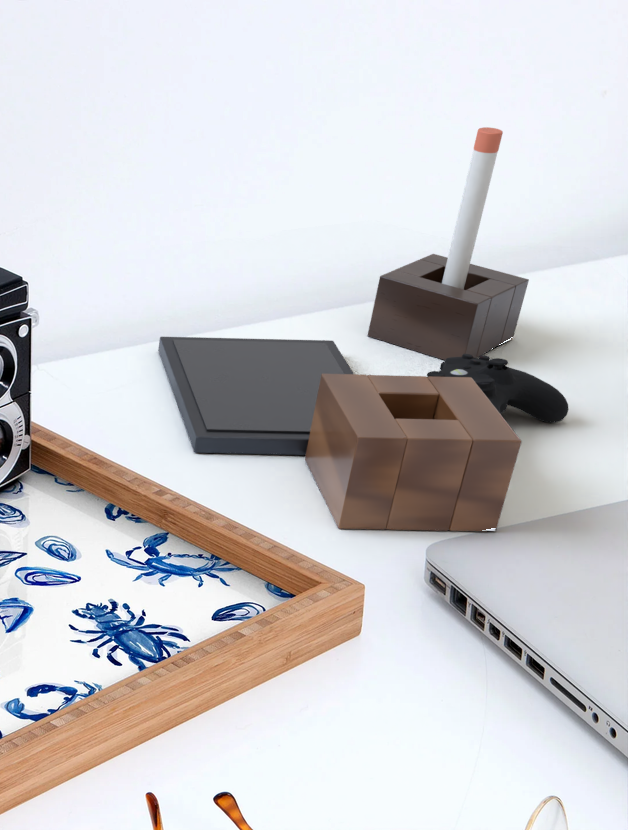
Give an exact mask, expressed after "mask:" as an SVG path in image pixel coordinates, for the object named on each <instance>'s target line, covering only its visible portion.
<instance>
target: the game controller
mask: <svg viewBox="0 0 628 830" xmlns="http://www.w3.org/2000/svg"><path fill="white" fill-rule="evenodd" d="M508 364H509V361H508V360H507V359H504V358H498V357H496V358H495V357H494V358H491V357H490V356H489V355H485V354H483V355H480V356H479V357H477V358H473V356H472V355H470V354H463V355H462V357H449V358H447V359H446V360H443V361H442V362H441V363H440V367H439V370H438V371H437V370H433V371H432V370H431V371H428V372H427V373H426V377H429V376H432V377H471V378H472V379H473V380H474V381H475V383H476V384H477V385H478V386H479V388H480V389H481V390H482V391H483V393H484V394H485V395H486V397H487V398H488V399H489V400H490V402H491V403H492V404H493V405H494V407H495V408H496V409H497V410H498V412H499V413H500V414H501V416H502V417H503V413H504V412H505V411H506V410H507V408H508V406H510V407H512V408H514V409H517V410H519V411H521V412H523V413H525V414H527V415H529V416H530V417H532V418H533V419H536V420H538V421H541V422H544V423H548V424H551V423H554V424H555V423H559V422H561V421H563V420H564V419H565V418H566V416H567V415H568V413H569V403H568V401H567V398H566V397H565V396H564V395H563V394H562V392H561V391H560V390H558V388H556V387H555V386H553V385H551V384H550V383H548V382H546V381H544V380H542V379H540V378H539V377H536V376H535V375H532V374H531V373H528V372H526V371H523V370H519V369H517V368H512V367H509V366H508Z"/></svg>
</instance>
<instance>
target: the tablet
mask: <svg viewBox="0 0 628 830" xmlns="http://www.w3.org/2000/svg"><path fill="white" fill-rule="evenodd" d="M158 341H159V342H158V349H157V350H158V351H157V352H158V354H159V357H160V359H161V363H162V365H163V368H164V371H165V374H166V376H167V380H168V382H169V385H170V387H171V388H170V389H171V391H172V394H173V396H174V399H175V402H176V404H177V408H178V410H179V413H180V416H181V419H182V421H183V424H184V427H185V430H186V433H187V436H188V438H189V442H190V444H191V447H192V450H193V452H194V453H195V454H231V455H232V454H234V455H272V456H273V455H274V456H275V455H277V456H278V455H279V456H281V455H282V456H306V451H307V445H308V440H309V435H310V430H311V425H312V420H313V415H314V410H315V405H316V400H317V395H318V390H319V384H320V379H321V374H355V373H354V372H353V370H352V369H351V367H350V365H349V364H348V362H347V361H346V359H345V357H344V356H343V354H342V352H341V351H340V349H339V348H338V346H337V344H336V343H335V341H334V340H327V339H326V340H325V339H324V340H323V339H321V340H319V339H283V338H281V339H277V338H241V337H239V338H238V337H197V336H196V337H194V336H189V337H188V336H160V337H159V340H158Z"/></svg>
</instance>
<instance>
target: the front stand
mask: <svg viewBox="0 0 628 830" xmlns="http://www.w3.org/2000/svg"><path fill="white" fill-rule="evenodd" d="M501 415H502V413H501V414H500V413H499V412H498V410H497V409H496V408H495V407H494V405H493V404H492V403H491V402H490V400H489V399H488V398H487V397H486V395H485V394H484V393H483V391H482V390H481V389H480V388H479V386H478V385H477V384H476V383H475V381H474V380H473V379H472V378H471V377H432V376H429V377H428V376H427V375H425V376H424V375H391V374H390V375H384V374H376V375H375V374H360V373H359V374H355V373H354V374H321V379H320V384H319V390H318V395H317V400H316V405H315V410H314V415H313V420H312V425H311V430H310V435H309V440H308V445H307V451H306V455H304V461H305V464H306V465H307V467H308V469H309V471H310V474H311V476H312V477H313V479H314V482H315V483H316V485H317V487H318V489H319V491H320V494H321V496H322V497H323V500H324V503H325V504H326V506H327V508H328V510H329V512H330V514H331V516H332V518H333V520H334V522H335V524H336V526H337V528H338V529H340V530H342V529H345V530H346V529H347V530H394V531H395V530H396V531H397V530H398V531H438V532H439V531H440V532H444V531H445V532H447V531H450V532H483V531H482V530H486V529H491V528H498V526H499V521H500V518H501V515H502V511H503V508H504V504H505V501H506V497H507V494H508V490H509V488H510V487H509V486H510V484H511V481H512V477H513V473H514V470H515V467H516V463H517V460H518V455H519V452H520V448H521V446H522V440H521V438H520V437H519V436H518V435H517V434H516V432H515V430H514V429H513V428H512V427H511V425H510V424H509V423H508V422H507V421H506V420H505V418H504V417H503V415H502V416H501Z"/></svg>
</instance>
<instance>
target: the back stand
mask: <svg viewBox="0 0 628 830" xmlns="http://www.w3.org/2000/svg"><path fill="white" fill-rule="evenodd" d="M447 259H448V256H443V255H440V254H436V253H431V254H429V255H427V256H424V257H422V258H420V259H416V260H415V261H413V262H409V263H408V264H405V265H403V266H400V267H398V268H396V269H394V270H391V271H388V272H386V273H384V274H382V275H380V276H379V279H378V284H377V289H376V293H375V299H374V303H373V307H372V311H371V316H370V321H369V326H368V331H367V337H369V338H373V339H376V340H379V341H382V342H386V343H389V344H392V345H394V346H398V347H401V348H405V349H407V350H408V349H409V350H411V351H414V352H417V353H420V354H424V355H427V356H430V357H433V358H437V359H440V360H442V361H445V360H446V359H447V358H449V357H462V355H463V354H470V355H472V356H473V358H479V356H480V355H482V354H483V355H485V354H487V353H489V352H490V351H489V350H491V349H492V348H495V347H496V346H498V345H499V344H501V343H503V342H504V341H506V340H508V339H510V338H511V337H513V336H514V337H515V333H516V329H517V325H518V322H519V318H520V314H521V311H522V307H523V304H524V300H525V296H526V293H527V289H528V285H529V281H530V280H529V279H528V278H525V277H522V276H518V275H514V274H510V273H506V272H503V271H499V270H495V269H492V268H488V267H484V266H480V265H477V264H473V263H470V266H469V270H468V274H467V278H466V282H465V286H464V289H460V288H456V287H453V286H449V285H446V284H442V280H443V276H444V272H445V267H446V263H447ZM514 337H513V338H514ZM498 347H499V346H498ZM496 348H497V347H496ZM496 348H495V349H496ZM488 351H489V352H488ZM491 351H492V350H491ZM486 352H487V353H486ZM484 353H485V354H484Z"/></svg>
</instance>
